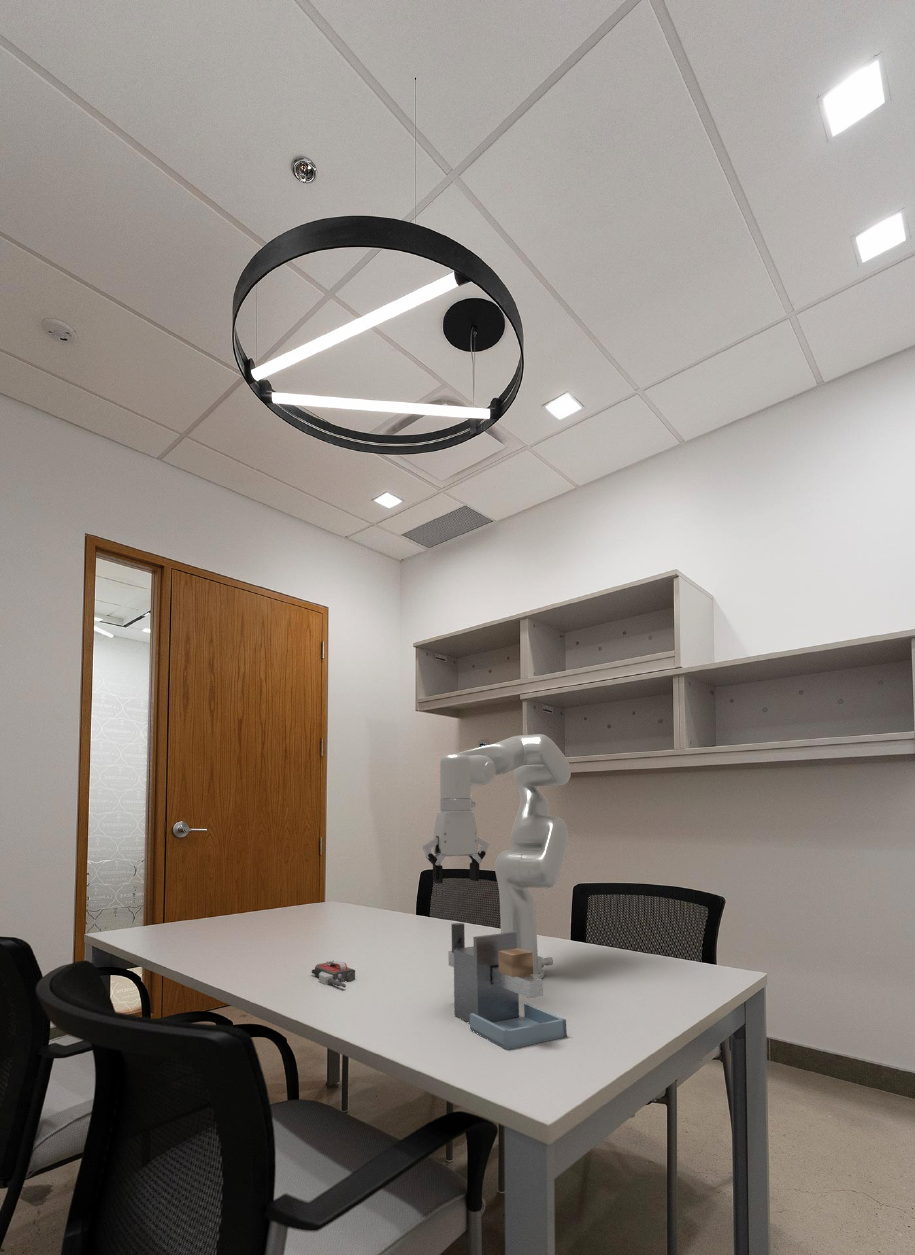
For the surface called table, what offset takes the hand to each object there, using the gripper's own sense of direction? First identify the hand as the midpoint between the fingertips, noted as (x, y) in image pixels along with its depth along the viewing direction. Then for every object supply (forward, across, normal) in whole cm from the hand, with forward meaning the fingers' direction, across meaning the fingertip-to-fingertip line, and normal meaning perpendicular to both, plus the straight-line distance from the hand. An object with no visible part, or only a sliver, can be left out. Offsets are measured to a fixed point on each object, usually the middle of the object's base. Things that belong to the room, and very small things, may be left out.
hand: (456, 881), depth 167 cm
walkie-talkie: (+27, +16, -36) cm, 48 cm away
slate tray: (+26, 0, +24) cm, 35 cm away
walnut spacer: (+16, 0, +24) cm, 28 cm away
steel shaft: (+18, 0, +14) cm, 23 cm away
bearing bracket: (+26, 0, +12) cm, 29 cm away
